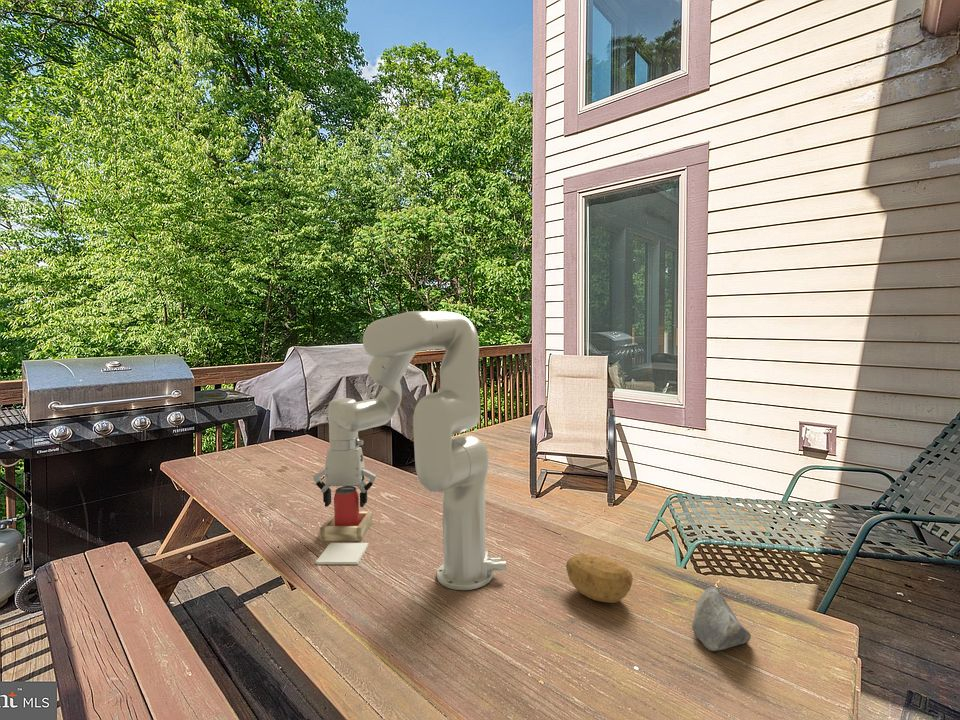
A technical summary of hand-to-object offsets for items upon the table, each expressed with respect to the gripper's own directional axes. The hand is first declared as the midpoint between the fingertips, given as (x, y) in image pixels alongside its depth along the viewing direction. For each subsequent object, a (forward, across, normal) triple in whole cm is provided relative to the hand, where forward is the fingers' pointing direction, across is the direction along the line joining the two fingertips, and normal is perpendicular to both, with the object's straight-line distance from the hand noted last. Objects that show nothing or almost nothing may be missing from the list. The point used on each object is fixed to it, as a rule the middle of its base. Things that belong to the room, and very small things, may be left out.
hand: (345, 505), depth 132 cm
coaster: (+7, -4, +13) cm, 16 cm away
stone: (+6, -81, +44) cm, 92 cm away
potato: (+6, -62, +31) cm, 70 cm away
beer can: (+8, 0, 0) cm, 8 cm away
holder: (+7, 0, 0) cm, 7 cm away
